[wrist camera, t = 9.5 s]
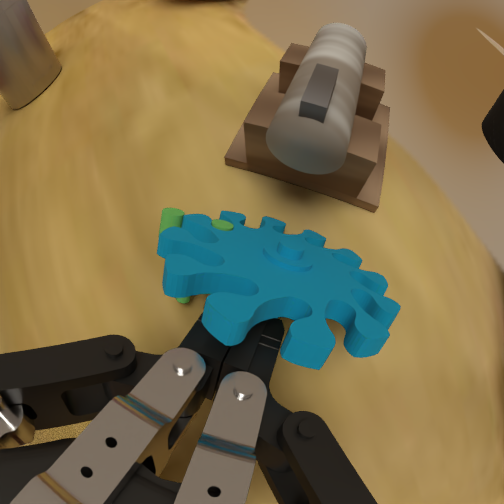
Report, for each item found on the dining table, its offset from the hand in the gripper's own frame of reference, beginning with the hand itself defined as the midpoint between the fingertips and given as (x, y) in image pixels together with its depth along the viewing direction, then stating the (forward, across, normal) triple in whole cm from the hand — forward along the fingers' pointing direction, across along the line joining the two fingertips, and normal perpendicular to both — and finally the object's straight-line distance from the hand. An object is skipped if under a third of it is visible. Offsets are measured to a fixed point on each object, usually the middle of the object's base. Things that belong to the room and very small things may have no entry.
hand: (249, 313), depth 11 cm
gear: (+4, 0, +1) cm, 4 cm away
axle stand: (+12, 0, -6) cm, 13 cm away
